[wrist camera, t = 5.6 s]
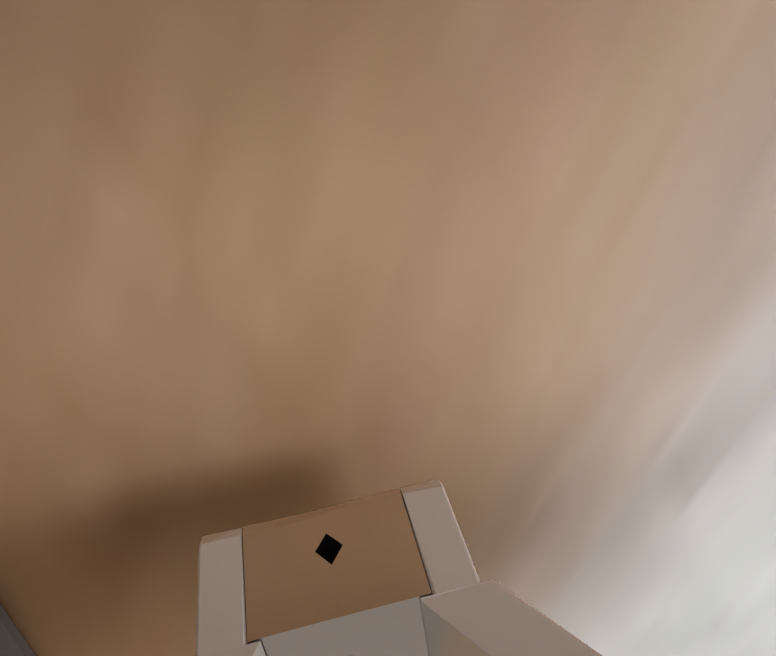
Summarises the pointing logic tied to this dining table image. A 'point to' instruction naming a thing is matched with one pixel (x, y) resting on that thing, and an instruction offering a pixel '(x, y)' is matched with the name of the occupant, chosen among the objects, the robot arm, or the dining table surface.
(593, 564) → the dining table surface
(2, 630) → the mark
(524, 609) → the robot arm
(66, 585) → the dining table surface
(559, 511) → the dining table surface
